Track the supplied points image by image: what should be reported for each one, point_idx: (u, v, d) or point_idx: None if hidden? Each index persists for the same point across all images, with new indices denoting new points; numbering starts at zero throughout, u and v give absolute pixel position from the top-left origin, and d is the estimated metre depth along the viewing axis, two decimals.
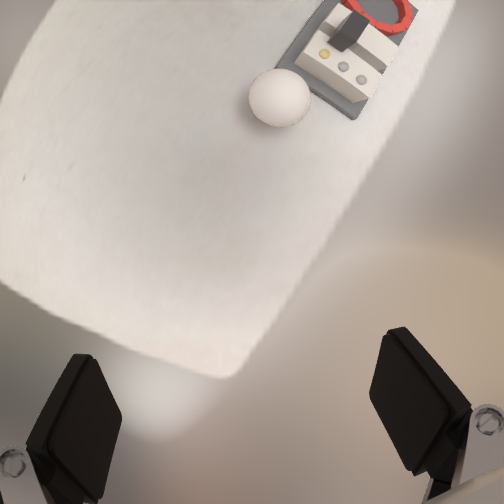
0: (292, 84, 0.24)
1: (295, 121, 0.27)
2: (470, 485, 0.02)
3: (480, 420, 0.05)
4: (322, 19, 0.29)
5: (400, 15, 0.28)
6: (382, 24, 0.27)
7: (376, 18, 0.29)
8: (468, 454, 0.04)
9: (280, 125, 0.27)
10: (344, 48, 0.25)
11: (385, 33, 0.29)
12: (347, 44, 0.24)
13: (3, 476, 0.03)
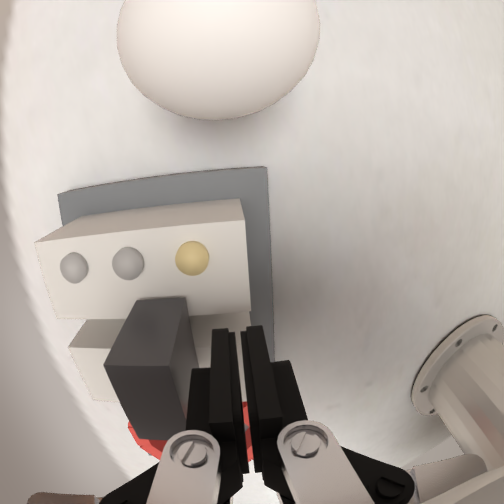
0: (209, 20, 0.05)
1: None
2: (470, 485, 0.02)
3: (293, 444, 0.05)
4: None
5: None
6: None
7: None
8: (300, 489, 0.04)
9: None
10: (133, 314, 0.10)
11: None
12: (128, 332, 0.09)
13: (185, 469, 0.05)
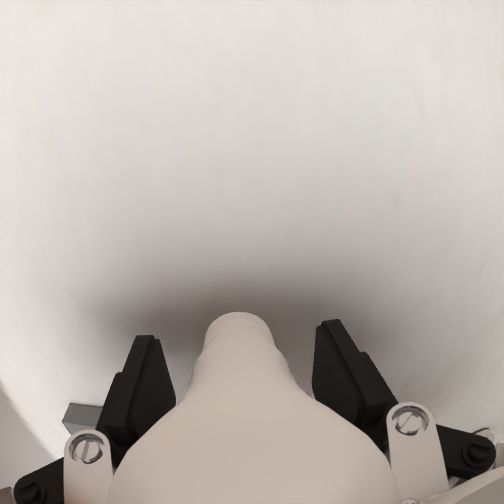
0: None
1: None
2: (470, 484, 0.02)
3: (399, 421, 0.05)
4: None
5: None
6: None
7: None
8: (394, 461, 0.04)
9: None
10: None
11: None
12: None
13: (77, 463, 0.04)
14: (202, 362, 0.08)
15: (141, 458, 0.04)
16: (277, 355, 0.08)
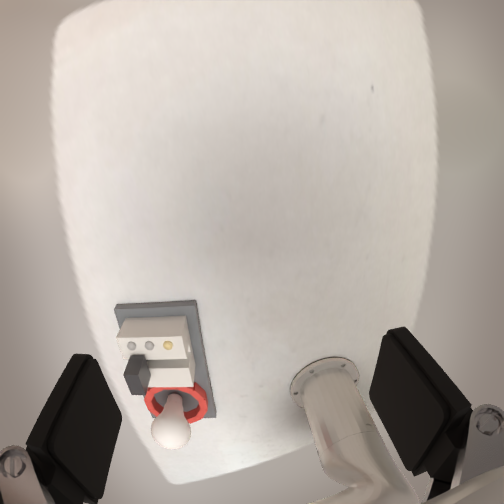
0: (169, 448, 0.35)
1: (152, 429, 0.36)
2: (470, 485, 0.02)
3: (480, 420, 0.05)
4: (196, 361, 0.43)
5: (157, 404, 0.45)
6: (158, 390, 0.42)
7: None
8: (468, 454, 0.04)
9: (157, 424, 0.36)
10: (130, 360, 0.35)
11: None
12: (129, 366, 0.33)
13: (3, 476, 0.03)
14: (165, 405, 0.41)
15: (156, 419, 0.37)
16: (179, 405, 0.42)
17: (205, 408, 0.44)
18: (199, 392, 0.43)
